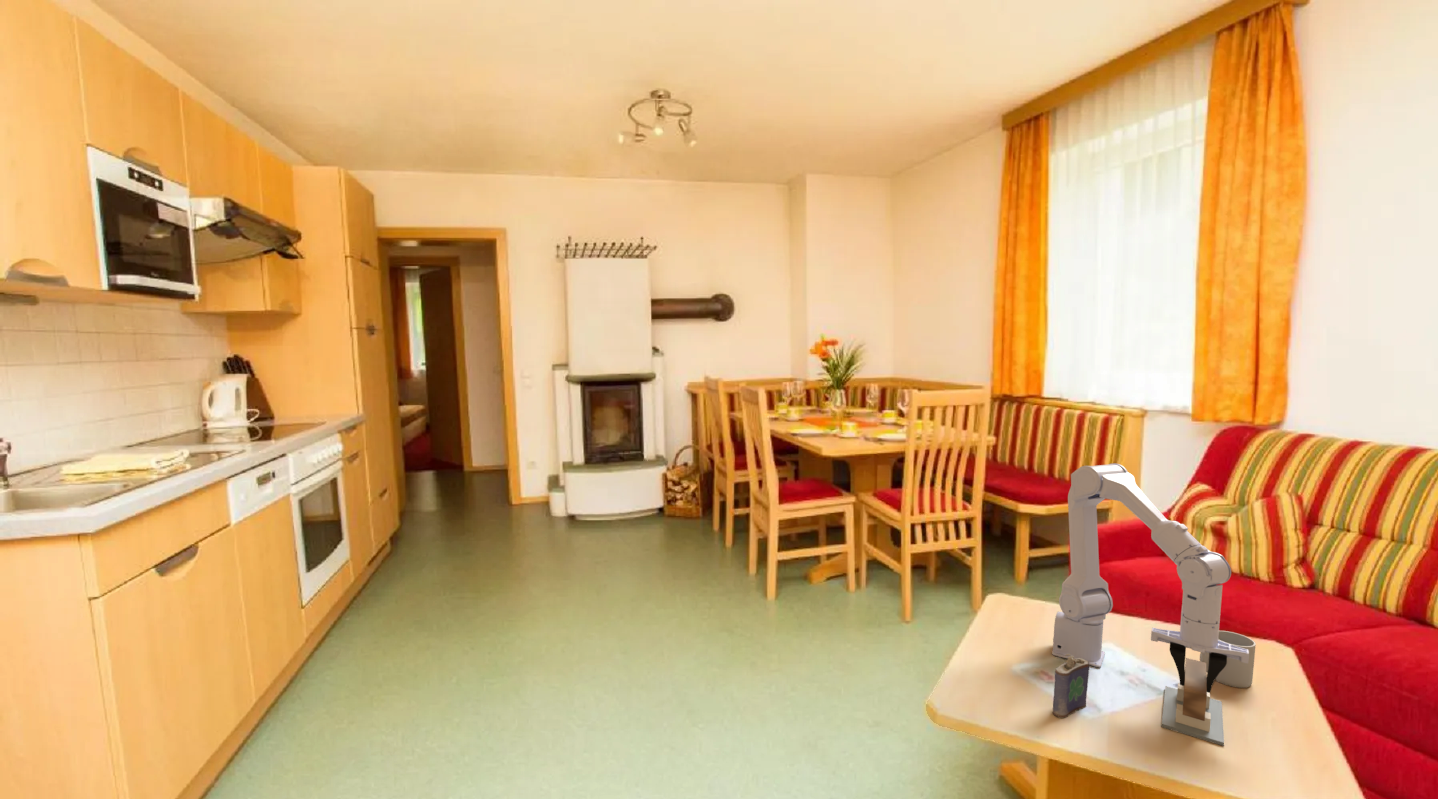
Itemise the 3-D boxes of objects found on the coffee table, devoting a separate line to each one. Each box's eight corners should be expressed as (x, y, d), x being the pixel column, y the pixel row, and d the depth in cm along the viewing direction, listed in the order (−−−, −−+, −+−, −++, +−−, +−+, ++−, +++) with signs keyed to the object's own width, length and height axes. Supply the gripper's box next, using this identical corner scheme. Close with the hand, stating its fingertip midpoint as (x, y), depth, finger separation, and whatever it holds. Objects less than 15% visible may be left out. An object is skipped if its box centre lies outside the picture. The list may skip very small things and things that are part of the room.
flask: (1062, 720, 118) (1065, 665, 117) (1047, 712, 121) (1050, 658, 120) (1089, 705, 123) (1093, 653, 122) (1074, 698, 125) (1077, 646, 125)
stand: (1161, 726, 116) (1162, 711, 116) (1165, 688, 129) (1166, 674, 129) (1223, 746, 111) (1225, 729, 111) (1221, 704, 124) (1222, 689, 123)
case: (1182, 714, 115) (1184, 688, 115) (1184, 681, 126) (1185, 657, 126) (1204, 721, 113) (1206, 694, 113) (1204, 687, 124) (1206, 662, 124)
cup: (1261, 688, 129) (1265, 647, 128) (1212, 688, 129) (1215, 646, 128) (1233, 670, 136) (1236, 630, 135) (1186, 670, 136) (1189, 630, 136)
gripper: (1152, 614, 119) (1147, 683, 121) (1252, 636, 111) (1245, 710, 112) (1154, 602, 125) (1149, 667, 126) (1249, 622, 116) (1243, 692, 117)
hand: (1194, 686), depth 119 cm, fingers open, 3 cm apart
